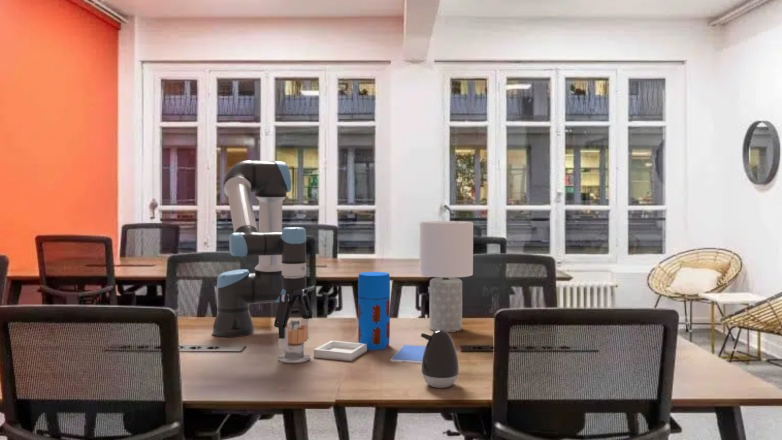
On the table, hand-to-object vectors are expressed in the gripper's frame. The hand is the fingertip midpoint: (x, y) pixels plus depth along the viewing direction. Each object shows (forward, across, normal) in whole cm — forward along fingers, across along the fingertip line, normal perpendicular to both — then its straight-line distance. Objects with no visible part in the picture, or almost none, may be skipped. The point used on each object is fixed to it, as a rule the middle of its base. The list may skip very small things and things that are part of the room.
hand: (294, 343), depth 192 cm
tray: (+5, +11, -11) cm, 16 cm away
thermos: (+5, +25, -17) cm, 31 cm away
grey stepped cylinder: (+5, 0, 0) cm, 5 cm away
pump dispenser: (+5, -9, -50) cm, 51 cm away
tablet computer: (+6, +19, -34) cm, 39 cm away
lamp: (+5, +60, -33) cm, 69 cm away
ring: (-1, 0, 0) cm, 1 cm away
